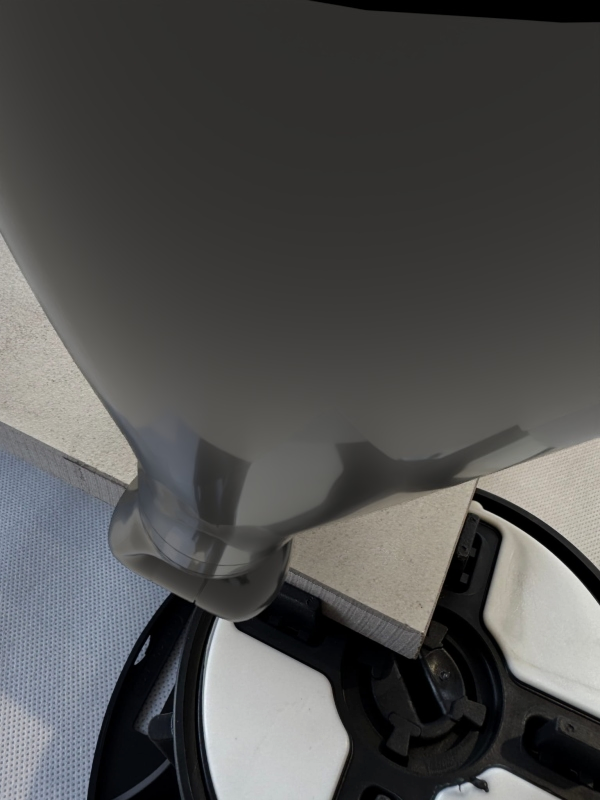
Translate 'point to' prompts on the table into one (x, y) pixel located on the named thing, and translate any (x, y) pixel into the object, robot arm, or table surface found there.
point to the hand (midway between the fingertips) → (369, 238)
